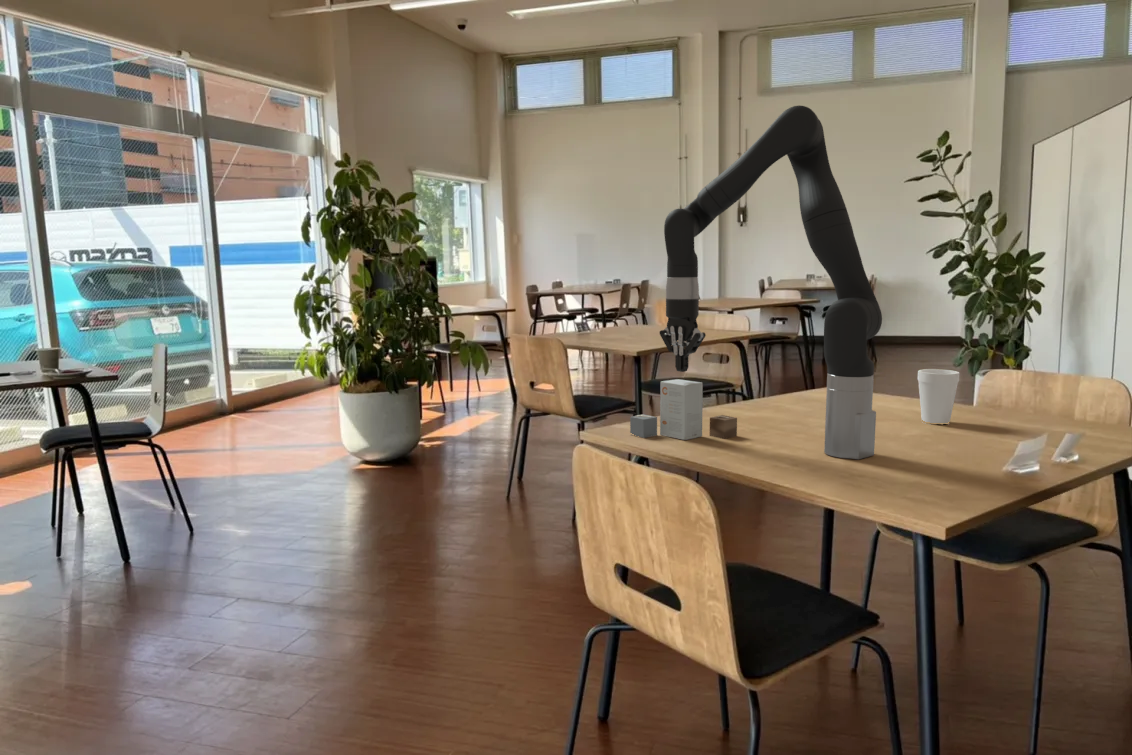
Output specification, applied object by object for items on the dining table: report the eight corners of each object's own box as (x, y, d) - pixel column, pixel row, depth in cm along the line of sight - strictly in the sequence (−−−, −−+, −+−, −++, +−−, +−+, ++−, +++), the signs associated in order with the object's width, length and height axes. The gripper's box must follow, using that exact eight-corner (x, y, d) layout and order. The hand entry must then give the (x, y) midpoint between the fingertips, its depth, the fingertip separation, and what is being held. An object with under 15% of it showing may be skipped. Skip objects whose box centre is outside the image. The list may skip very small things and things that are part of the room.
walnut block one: (736, 436, 191) (737, 416, 190) (724, 439, 188) (724, 419, 187) (721, 433, 194) (722, 414, 193) (709, 436, 191) (709, 416, 191)
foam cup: (961, 426, 198) (964, 374, 196) (921, 426, 200) (924, 374, 198) (949, 419, 208) (952, 369, 206) (911, 418, 209) (914, 368, 207)
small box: (702, 436, 190) (703, 382, 188) (684, 440, 186) (685, 385, 184) (677, 431, 196) (678, 378, 194) (659, 435, 192) (659, 381, 190)
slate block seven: (657, 435, 192) (657, 416, 192) (643, 438, 189) (643, 418, 189) (643, 432, 196) (643, 413, 195) (630, 435, 193) (630, 415, 192)
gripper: (715, 297, 184) (714, 372, 186) (672, 295, 194) (672, 367, 196) (692, 298, 179) (691, 375, 181) (650, 296, 189) (650, 370, 192)
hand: (681, 371), depth 189 cm, fingers closed
